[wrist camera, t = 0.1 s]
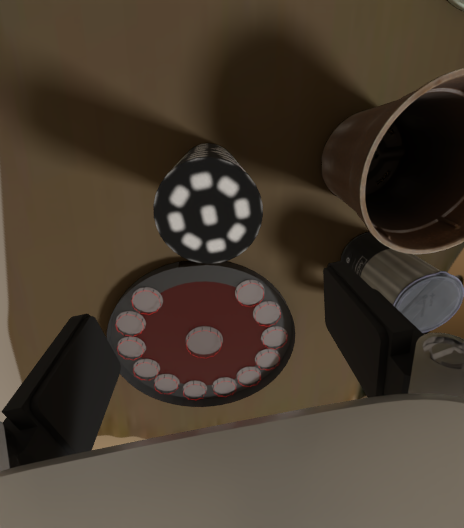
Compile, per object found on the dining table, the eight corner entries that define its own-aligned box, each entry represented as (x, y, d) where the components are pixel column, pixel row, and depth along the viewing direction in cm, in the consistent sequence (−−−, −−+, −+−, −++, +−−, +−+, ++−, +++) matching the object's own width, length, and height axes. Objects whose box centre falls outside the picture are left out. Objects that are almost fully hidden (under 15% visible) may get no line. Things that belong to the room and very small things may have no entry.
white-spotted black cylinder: (172, 149, 36) (137, 170, 18) (232, 137, 36) (255, 146, 18) (188, 208, 40) (171, 272, 22) (242, 197, 40) (268, 253, 22)
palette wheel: (295, 249, 45) (300, 256, 43) (287, 387, 61) (291, 397, 59) (86, 268, 44) (79, 276, 41) (135, 404, 60) (132, 415, 57)
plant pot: (283, 183, 39) (326, 214, 25) (351, 65, 33) (458, 16, 19) (365, 228, 44) (442, 276, 29) (438, 130, 38) (580, 131, 23)
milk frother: (339, 236, 44) (395, 283, 31) (433, 216, 44) (530, 254, 31) (340, 304, 51) (386, 366, 38) (421, 287, 50) (497, 343, 37)
